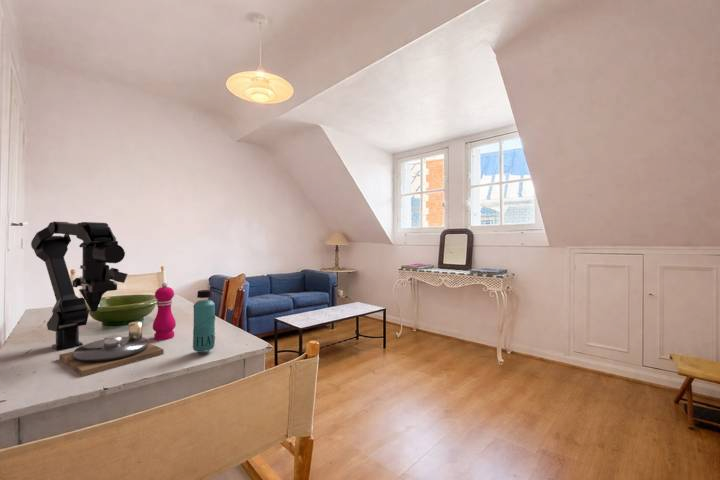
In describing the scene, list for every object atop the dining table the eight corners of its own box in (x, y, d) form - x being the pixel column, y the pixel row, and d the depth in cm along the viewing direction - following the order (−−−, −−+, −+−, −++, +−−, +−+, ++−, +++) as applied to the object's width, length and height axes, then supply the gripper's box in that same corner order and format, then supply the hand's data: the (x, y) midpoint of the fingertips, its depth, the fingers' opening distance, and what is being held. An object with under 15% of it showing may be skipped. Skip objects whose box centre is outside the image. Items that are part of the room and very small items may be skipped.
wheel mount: (59, 359, 96) (59, 354, 96) (135, 341, 112) (135, 337, 112) (82, 376, 85) (82, 370, 85) (163, 354, 101) (163, 349, 101)
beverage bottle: (192, 357, 98) (192, 292, 98) (192, 350, 104) (192, 289, 104) (215, 354, 101) (216, 291, 101) (214, 347, 107) (215, 288, 107)
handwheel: (101, 366, 87) (101, 341, 87) (58, 357, 93) (58, 333, 93) (161, 345, 104) (161, 324, 104) (122, 338, 110) (122, 318, 110)
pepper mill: (164, 341, 113) (165, 284, 113) (147, 339, 114) (147, 283, 114) (180, 335, 120) (180, 281, 120) (163, 333, 122) (164, 281, 121)
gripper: (136, 262, 103) (136, 310, 103) (113, 259, 113) (113, 303, 114) (92, 264, 94) (92, 317, 94) (72, 261, 104) (71, 309, 104)
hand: (94, 311), depth 102 cm, fingers closed
